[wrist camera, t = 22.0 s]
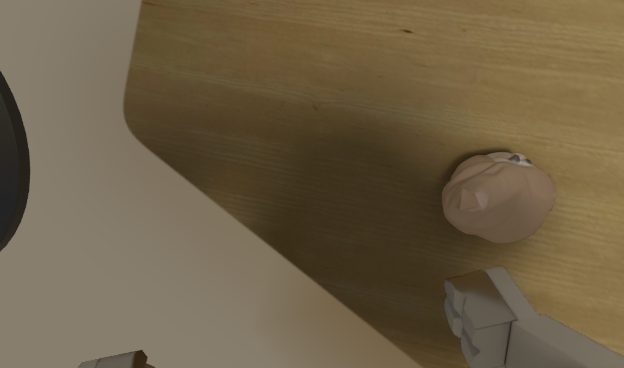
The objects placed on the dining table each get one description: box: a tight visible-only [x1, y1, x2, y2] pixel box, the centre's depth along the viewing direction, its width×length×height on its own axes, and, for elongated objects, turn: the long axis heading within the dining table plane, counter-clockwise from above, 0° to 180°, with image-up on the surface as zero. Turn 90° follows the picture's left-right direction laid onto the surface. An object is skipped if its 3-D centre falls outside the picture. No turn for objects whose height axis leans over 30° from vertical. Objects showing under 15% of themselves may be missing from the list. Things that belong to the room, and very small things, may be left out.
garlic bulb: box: [442, 152, 557, 243], centre depth 27 cm, size 7×6×8 cm
